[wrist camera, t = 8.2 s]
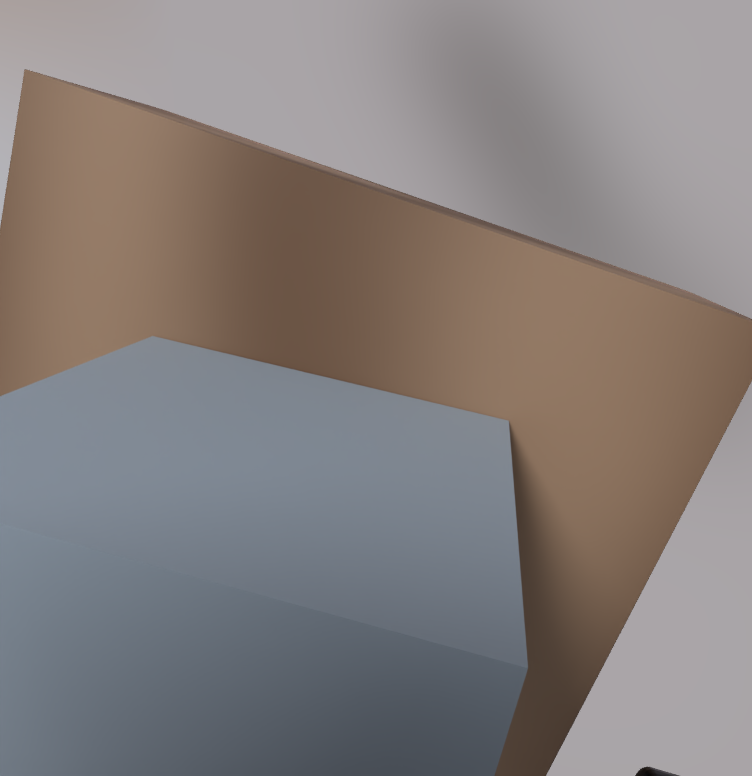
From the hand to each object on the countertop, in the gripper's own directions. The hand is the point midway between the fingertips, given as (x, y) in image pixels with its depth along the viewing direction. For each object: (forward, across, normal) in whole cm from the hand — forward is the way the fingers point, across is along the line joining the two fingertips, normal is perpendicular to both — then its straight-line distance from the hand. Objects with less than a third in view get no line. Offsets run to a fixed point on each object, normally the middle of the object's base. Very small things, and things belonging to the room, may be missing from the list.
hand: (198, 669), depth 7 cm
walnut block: (+7, 0, 0) cm, 7 cm away
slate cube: (+3, 0, 0) cm, 3 cm away
